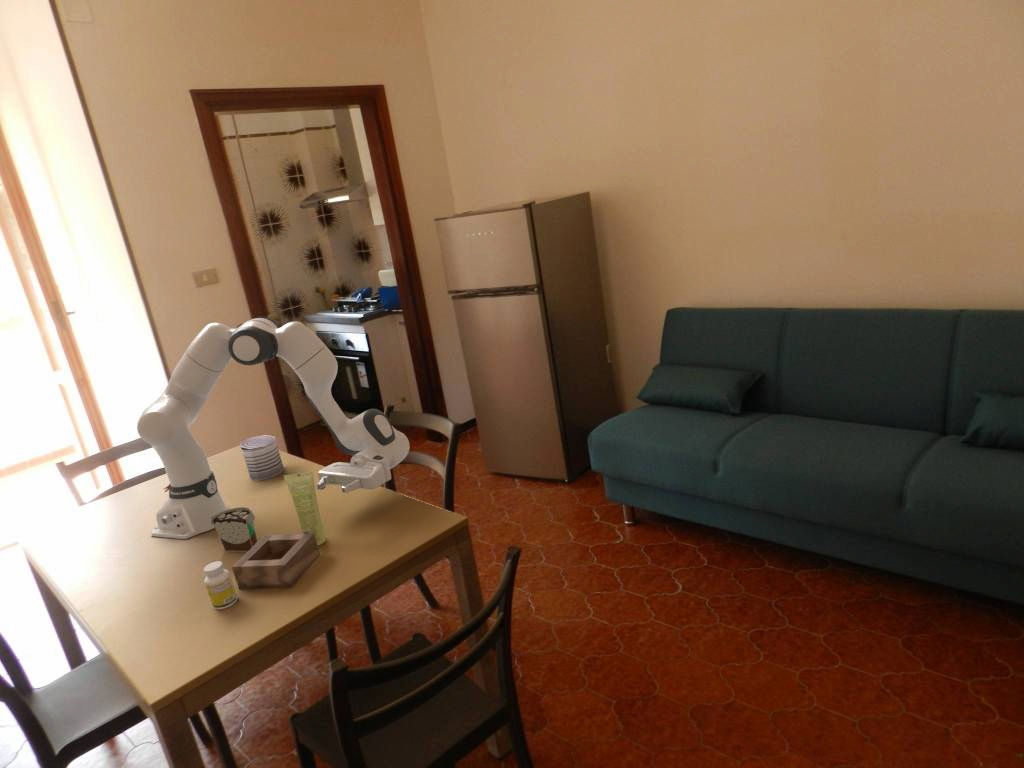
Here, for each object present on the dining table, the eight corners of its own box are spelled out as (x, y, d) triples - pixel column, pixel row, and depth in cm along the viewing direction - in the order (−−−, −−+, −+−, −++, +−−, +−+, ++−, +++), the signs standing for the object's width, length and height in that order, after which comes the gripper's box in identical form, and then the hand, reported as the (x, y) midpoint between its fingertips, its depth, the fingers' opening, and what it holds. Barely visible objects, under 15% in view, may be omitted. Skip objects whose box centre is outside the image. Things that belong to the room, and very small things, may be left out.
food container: (272, 539, 187) (262, 506, 184) (258, 552, 182) (247, 517, 179) (236, 539, 191) (225, 506, 189) (220, 551, 186) (209, 517, 183)
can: (265, 465, 243) (256, 433, 240) (291, 466, 238) (282, 433, 235) (242, 480, 233) (232, 447, 230) (268, 481, 229) (258, 447, 225)
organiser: (239, 589, 165) (231, 566, 163) (270, 556, 178) (264, 535, 176) (291, 587, 162) (284, 565, 160) (320, 554, 174) (314, 533, 173)
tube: (323, 534, 185) (304, 467, 179) (331, 540, 181) (312, 471, 175) (303, 544, 182) (283, 475, 176) (311, 550, 178) (291, 480, 172)
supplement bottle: (217, 598, 163) (205, 561, 160) (240, 594, 163) (228, 557, 160) (210, 612, 158) (196, 574, 155) (234, 607, 158) (221, 569, 155)
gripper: (336, 453, 201) (300, 474, 190) (391, 458, 190) (356, 481, 179) (342, 473, 202) (306, 495, 191) (396, 479, 192) (361, 503, 181)
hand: (330, 488), depth 185 cm, fingers open, 8 cm apart
